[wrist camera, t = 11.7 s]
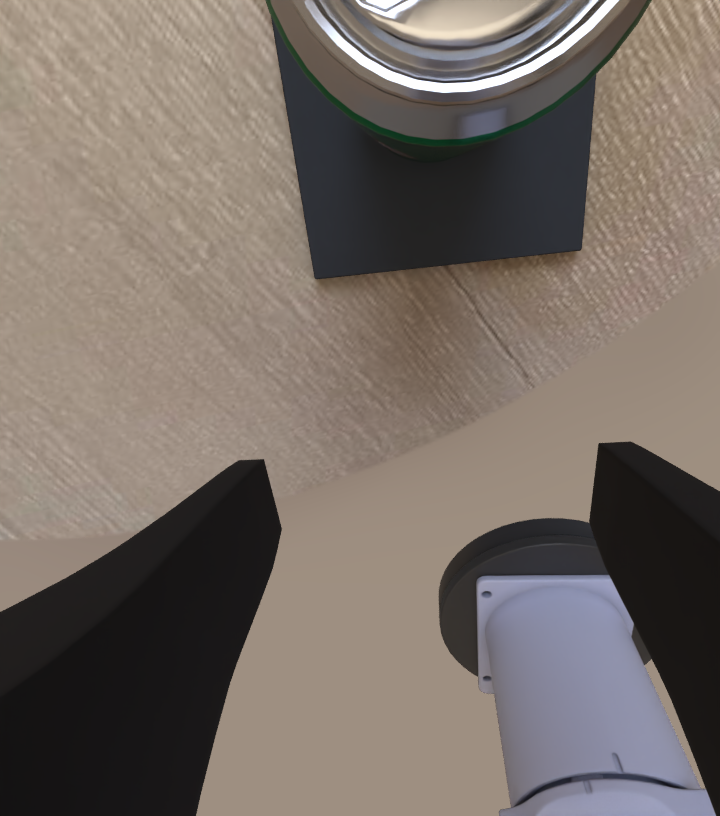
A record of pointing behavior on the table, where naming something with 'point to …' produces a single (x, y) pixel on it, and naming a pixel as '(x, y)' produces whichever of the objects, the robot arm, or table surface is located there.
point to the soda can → (450, 63)
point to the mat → (434, 188)
